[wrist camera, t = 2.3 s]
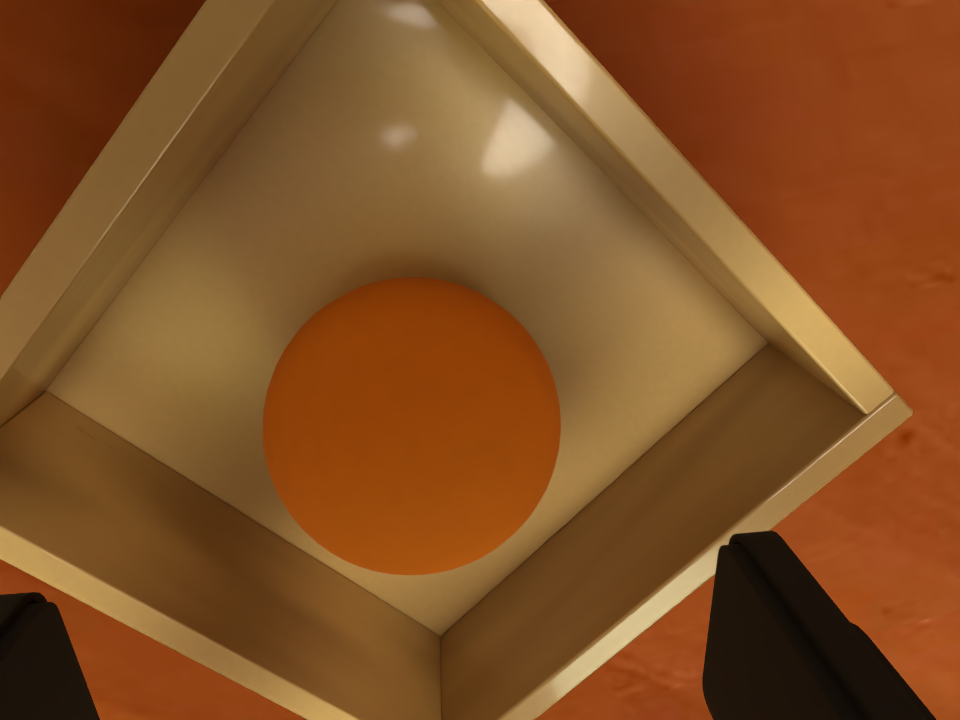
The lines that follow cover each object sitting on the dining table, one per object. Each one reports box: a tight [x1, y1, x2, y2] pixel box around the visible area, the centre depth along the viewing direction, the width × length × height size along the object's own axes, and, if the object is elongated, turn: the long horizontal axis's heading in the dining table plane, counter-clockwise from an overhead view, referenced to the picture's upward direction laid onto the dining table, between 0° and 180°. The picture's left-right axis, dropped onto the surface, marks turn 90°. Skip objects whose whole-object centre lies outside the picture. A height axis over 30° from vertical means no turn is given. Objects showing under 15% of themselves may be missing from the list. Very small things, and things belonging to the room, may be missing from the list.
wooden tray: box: [0, 0, 913, 720], centre depth 16 cm, size 16×16×5 cm
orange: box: [262, 277, 561, 575], centre depth 15 cm, size 7×7×7 cm
